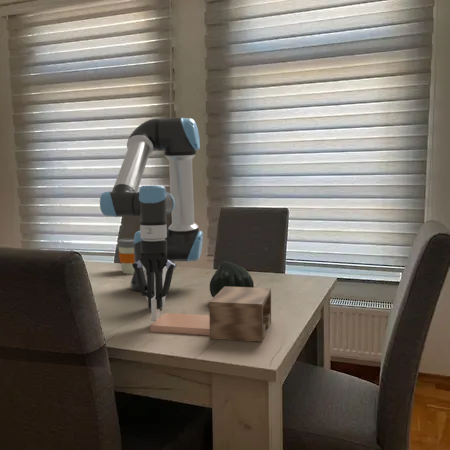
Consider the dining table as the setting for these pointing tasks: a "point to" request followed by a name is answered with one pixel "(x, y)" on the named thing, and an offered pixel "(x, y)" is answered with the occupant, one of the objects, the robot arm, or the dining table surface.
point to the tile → (182, 324)
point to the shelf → (240, 313)
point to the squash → (229, 277)
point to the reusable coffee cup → (126, 254)
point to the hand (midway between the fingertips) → (155, 319)
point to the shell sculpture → (155, 285)
